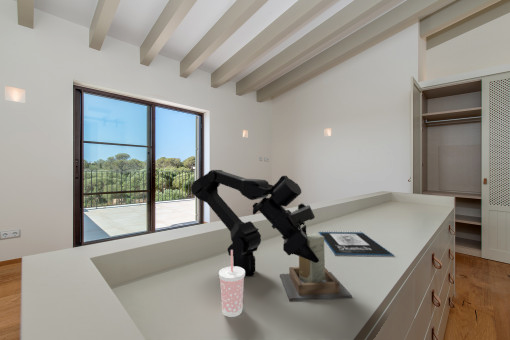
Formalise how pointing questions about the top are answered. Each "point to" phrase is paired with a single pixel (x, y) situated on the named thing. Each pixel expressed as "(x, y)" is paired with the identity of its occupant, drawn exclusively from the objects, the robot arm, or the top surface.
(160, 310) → the top surface
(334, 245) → the sketchbook
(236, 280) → the beverage cup
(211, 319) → the top surface
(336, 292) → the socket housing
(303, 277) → the skincare box
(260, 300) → the top surface
